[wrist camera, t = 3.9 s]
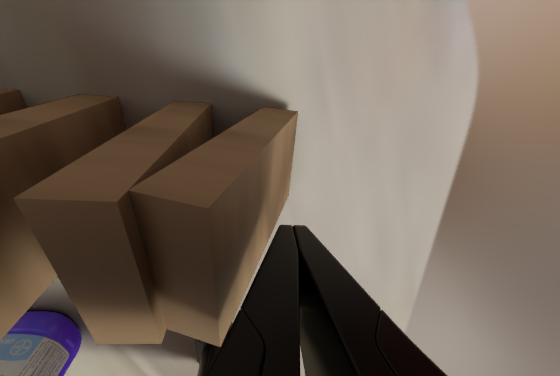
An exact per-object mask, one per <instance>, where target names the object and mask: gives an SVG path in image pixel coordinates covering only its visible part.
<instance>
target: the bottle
mask: <svg viewBox="0 0 560 376" xmlns="http://www.w3.org/2000/svg"><path fill="white" fill-rule="evenodd" d="M80 344H81V333H80V330H79V329H78V327H77V326H76V325H75V324H74V323H73V322H72V321H71V320H70V319H69V318H68V317H66V316H64V315H62V314H59V313H55V312H47V311H37V312H25V314H24V315H23V316H22V317H21V318H20V319H19V320H18V321H17V323H16V324H15V325H14V326H13V327H12V328H11V329H10V330H9V331H8V333H7V334H6V335H5V336H4V337H3V338H2V339H1V340H0V376H64V374H65V373H66V371H67V369H68V368H69V366H70V364H71V362H72V361H73V359H74V358H75V356H76V354H77V352H78V350H79V348H80Z"/></svg>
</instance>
